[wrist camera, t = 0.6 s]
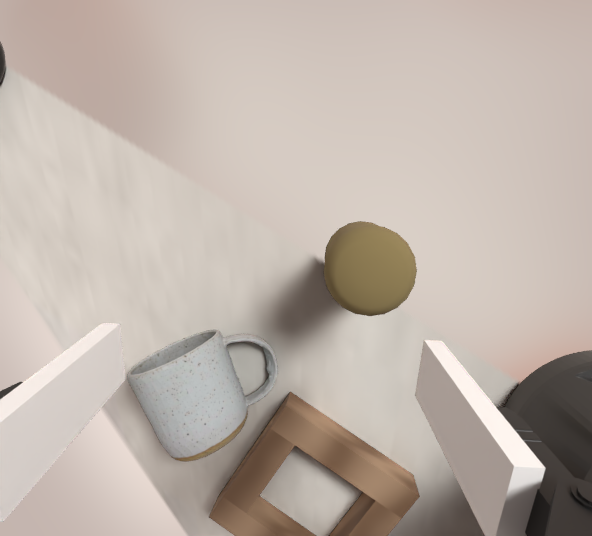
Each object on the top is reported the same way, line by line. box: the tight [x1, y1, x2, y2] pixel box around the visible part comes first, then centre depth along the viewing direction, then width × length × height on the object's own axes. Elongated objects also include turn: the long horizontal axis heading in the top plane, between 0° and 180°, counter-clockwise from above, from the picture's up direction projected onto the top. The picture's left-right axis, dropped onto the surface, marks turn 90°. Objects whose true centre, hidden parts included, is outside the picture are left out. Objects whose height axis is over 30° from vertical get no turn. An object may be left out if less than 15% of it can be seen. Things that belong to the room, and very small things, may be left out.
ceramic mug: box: [127, 330, 278, 461], centre depth 28 cm, size 11×8×8 cm
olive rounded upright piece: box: [324, 221, 417, 316], centre depth 24 cm, size 6×6×11 cm
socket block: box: [209, 392, 420, 536], centre depth 31 cm, size 13×13×2 cm
